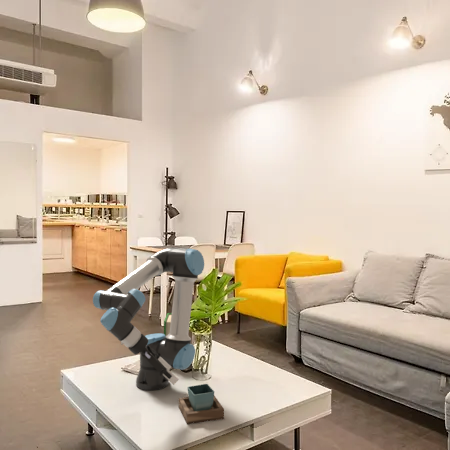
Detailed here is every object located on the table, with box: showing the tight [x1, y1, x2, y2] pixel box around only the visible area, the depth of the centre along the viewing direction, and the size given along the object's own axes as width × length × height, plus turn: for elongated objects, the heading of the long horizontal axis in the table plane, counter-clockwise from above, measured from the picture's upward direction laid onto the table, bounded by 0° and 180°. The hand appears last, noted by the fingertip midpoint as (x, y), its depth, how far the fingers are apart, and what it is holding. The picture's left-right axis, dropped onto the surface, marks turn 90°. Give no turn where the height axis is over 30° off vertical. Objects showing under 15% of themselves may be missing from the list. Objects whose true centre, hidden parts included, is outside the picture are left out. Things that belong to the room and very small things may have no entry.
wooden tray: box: [178, 395, 225, 425], centre depth 180 cm, size 15×15×4 cm
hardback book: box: [163, 312, 172, 339], centre depth 240 cm, size 18×7×24 cm, turn 2°
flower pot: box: [187, 383, 215, 411], centre depth 180 cm, size 9×9×9 cm
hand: (172, 375), depth 176 cm, fingers open, 13 cm apart
